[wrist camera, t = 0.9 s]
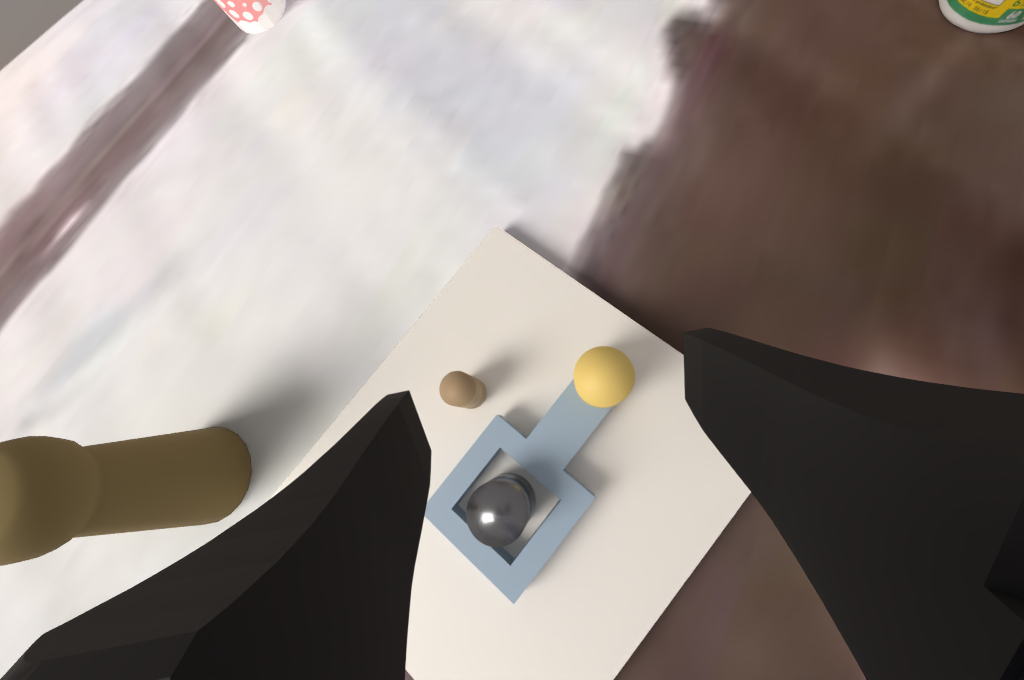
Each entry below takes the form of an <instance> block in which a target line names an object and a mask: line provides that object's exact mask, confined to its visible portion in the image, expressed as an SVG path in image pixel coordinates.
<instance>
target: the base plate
mask: <svg viewBox="0 0 1024 680" xmlns="http://www.w3.org/2000/svg"><path fill="white" fill-rule="evenodd" d="M599 346H608V347H613V348H616V349H618V350H620V351H621V352H623V353H624V354H625V355H626V356H627V357H628V358H629V360H630V361H631V363H632V365H633V367H634V371H635V382H634V386H633V388H632V391H631V392H630V394H629V395H628V396H627V397H626V398H625V399H624V400H622V401H621V402H619V403H618V404H616V405H615V406H613V407H611V409H610V410H609V411H608V413H607V414H606V415H605V417H604V418H603V419H602V420H601V422H600V423H599V424H598V426H597V427H596V428H595V429H594V431H593V432H592V433H591V435H590V436H589V437H588V438H587V440H586V441H585V442H584V444H583V445H582V446H581V448H580V449H579V450H578V451H577V453H576V454H575V455H574V457H573V458H572V459H571V460H570V462H569V463H568V464H567V466H566V467H565V468H564V469H565V470H567V471H568V472H569V473H570V474H571V475H573V476H574V477H575V478H576V479H577V480H578V481H580V482H581V483H582V484H583V485H584V486H586V487H587V488H588V489H589V490H590V491H592V492H593V493H594V494H595V499H594V500H593V501H592V503H591V504H590V505H589V507H588V508H587V509H586V511H585V512H584V513H583V514H582V516H581V517H580V518H579V520H578V521H577V522H576V524H575V525H574V526H573V528H572V529H571V530H570V532H569V533H568V534H567V535H566V537H565V538H564V539H563V541H562V542H561V543H560V545H559V546H558V547H557V549H556V550H555V551H554V552H553V554H552V555H551V556H550V558H549V559H548V560H547V562H546V563H545V564H544V566H543V567H542V568H541V570H540V571H539V572H538V573H537V575H536V576H535V577H534V579H533V580H532V581H531V583H530V584H529V585H528V587H527V588H526V589H525V590H524V592H523V593H522V594H521V596H520V597H519V598H518V600H517V601H516V602H515V604H513V603H512V602H511V601H510V600H509V599H508V598H507V597H506V596H505V595H504V594H503V593H502V592H501V591H500V590H499V589H498V588H497V587H496V586H495V585H494V584H493V583H492V582H491V581H490V580H489V579H488V578H487V577H486V576H485V575H484V574H483V573H482V572H481V571H479V570H478V569H477V568H476V567H475V566H474V565H473V564H472V563H471V562H470V561H469V560H468V559H467V558H466V557H465V556H464V555H463V554H462V553H461V552H460V551H459V550H458V549H457V548H456V547H455V546H454V545H453V544H452V543H451V542H450V541H449V540H448V539H447V538H446V537H445V536H444V535H443V534H442V533H441V532H440V531H439V530H438V529H437V528H436V527H435V526H434V525H433V524H432V523H431V522H430V521H429V520H428V519H427V518H426V517H425V516H424V521H423V527H422V532H421V537H420V542H419V547H418V553H417V558H416V563H415V569H414V575H413V582H412V590H411V601H410V612H409V624H408V636H407V651H406V666H405V669H406V670H407V672H408V673H409V674H410V675H411V676H412V677H413V678H414V680H614V678H615V677H616V675H617V674H618V673H619V671H620V670H621V669H622V667H623V666H624V665H625V663H626V662H627V660H628V659H629V658H630V656H631V655H632V654H633V652H634V651H635V650H636V648H637V647H638V645H639V644H640V643H641V641H642V640H643V639H644V637H645V636H646V635H647V633H648V632H649V630H650V629H651V628H652V626H653V625H654V624H655V622H656V621H657V620H658V618H659V617H660V615H661V614H662V613H663V611H664V610H665V609H666V607H667V606H668V605H669V603H670V602H671V600H672V599H673V598H674V596H675V595H676V594H677V592H678V591H679V590H680V588H681V587H682V585H683V584H684V583H685V581H686V580H687V579H688V577H689V576H690V575H691V573H692V572H693V570H694V569H695V568H696V566H697V565H698V564H699V562H700V561H701V560H702V558H703V557H704V556H705V554H706V553H707V551H708V550H709V549H710V547H711V546H712V545H713V543H714V542H715V541H716V539H717V538H718V536H719V535H720V534H721V532H722V531H723V530H724V528H725V527H726V526H727V524H728V523H729V521H730V520H731V519H732V517H733V516H734V515H735V513H736V512H737V511H738V509H739V508H740V506H741V505H742V504H743V502H744V501H745V500H746V498H747V497H748V496H749V494H750V493H751V491H750V490H749V489H748V488H747V486H746V485H745V484H744V482H743V481H742V480H741V479H740V477H739V476H738V475H737V474H736V472H735V471H734V470H733V469H732V467H731V466H730V465H729V464H728V462H727V461H726V460H725V458H724V457H723V456H722V455H721V453H720V452H719V451H718V450H717V448H716V447H715V446H714V444H713V443H712V442H711V441H710V439H709V438H708V437H707V435H706V434H705V433H704V431H703V430H702V428H701V427H700V425H699V423H698V422H697V420H696V418H695V417H694V415H693V413H692V411H691V409H690V408H689V406H688V404H687V402H686V400H685V388H684V355H683V354H681V353H680V352H678V351H677V350H675V349H674V348H672V347H671V346H670V345H668V344H667V343H665V342H664V341H662V340H661V339H660V338H658V337H657V336H655V335H654V334H652V333H651V332H649V331H648V330H647V329H645V328H644V327H642V326H641V325H639V324H638V323H636V322H635V321H634V320H632V319H631V318H629V317H628V316H626V315H625V314H623V313H622V312H621V311H619V310H618V309H616V308H615V307H613V306H612V305H610V304H609V303H608V302H606V301H605V300H603V299H602V298H600V297H599V296H597V295H596V294H595V293H593V292H592V291H590V290H589V289H587V288H586V287H584V286H583V285H582V284H580V283H579V282H577V281H576V280H574V279H573V278H571V277H570V276H569V275H567V274H566V273H564V272H563V271H561V270H560V269H558V268H557V267H556V266H554V265H553V264H551V263H550V262H548V261H547V260H545V259H544V258H543V257H541V256H540V255H538V254H537V253H535V252H534V251H532V250H531V249H530V248H528V247H527V246H525V245H524V244H522V243H521V242H519V241H518V240H517V239H515V238H514V237H512V236H511V235H509V234H508V233H506V232H505V231H504V230H502V229H501V228H499V227H498V226H496V225H495V227H494V228H493V229H492V230H491V231H490V233H489V234H488V235H487V236H486V238H485V239H484V240H483V241H482V242H481V244H480V245H479V246H478V247H477V248H476V250H475V251H474V252H473V253H472V254H471V256H470V257H469V258H468V259H467V261H466V262H465V263H464V264H463V265H462V267H461V268H460V269H459V270H458V271H457V273H456V274H455V275H454V276H453V277H452V279H451V280H450V281H449V282H448V284H447V285H446V286H445V287H444V288H443V290H442V291H441V292H440V293H439V294H438V296H437V297H436V298H435V299H434V301H433V302H432V303H431V304H430V305H429V307H428V308H427V309H426V310H425V311H424V313H423V314H422V315H421V316H420V317H419V319H418V320H417V321H416V322H415V324H414V325H413V326H412V327H411V328H410V330H409V331H408V332H407V333H406V334H405V336H404V337H403V338H402V339H401V340H400V342H399V343H398V344H397V345H396V347H395V348H394V349H393V350H392V351H391V353H390V354H389V355H388V356H387V357H386V359H385V360H384V361H383V362H382V363H381V365H380V366H379V367H378V368H377V370H376V371H375V372H374V373H373V374H372V376H371V377H370V378H369V379H368V380H367V382H366V383H365V384H364V385H363V387H362V388H361V389H360V390H359V391H358V393H357V394H356V395H355V396H354V397H353V399H352V400H351V401H350V402H349V403H348V405H347V406H346V407H345V408H344V410H343V411H342V412H341V413H340V414H339V416H338V417H337V418H336V419H335V420H334V422H333V423H332V424H331V425H330V426H329V428H328V429H327V430H326V431H325V433H324V434H323V435H322V436H321V437H320V439H319V440H318V441H317V442H316V443H315V445H314V446H313V447H312V448H311V449H310V451H309V452H308V453H307V454H306V456H305V457H304V458H303V459H302V460H301V462H300V463H299V464H298V465H297V466H296V468H295V469H294V470H293V471H292V472H291V474H290V475H289V476H288V477H287V479H286V480H285V481H284V482H283V483H282V485H281V486H280V487H279V488H278V489H277V491H276V492H275V493H274V494H273V496H272V497H274V496H275V495H276V494H277V493H279V492H280V491H281V490H283V489H284V488H285V487H287V486H288V485H289V484H290V483H291V482H293V481H294V480H295V479H296V478H298V477H299V476H300V475H301V474H302V473H303V472H305V471H306V470H307V469H308V468H309V467H310V466H311V465H312V464H313V463H315V462H316V461H317V460H318V459H319V458H320V457H321V456H322V455H323V454H325V453H326V452H327V451H328V450H329V449H330V448H331V447H332V446H333V445H334V444H336V443H337V442H338V441H339V440H340V439H341V438H342V437H343V436H344V435H345V434H346V433H347V432H348V431H349V430H350V429H351V428H352V427H353V426H354V425H355V424H356V423H357V422H358V421H359V420H360V419H361V418H362V417H363V416H364V415H365V414H366V413H367V412H368V411H369V410H370V409H371V408H372V407H373V406H374V405H375V404H377V403H378V402H379V401H380V400H381V399H382V398H383V397H385V396H386V395H388V394H393V393H398V392H403V391H407V390H409V391H410V394H411V396H412V399H413V402H414V404H415V407H416V410H417V412H418V415H419V418H420V421H421V423H422V426H423V429H424V431H425V434H426V437H427V440H428V442H429V445H430V448H431V450H432V454H431V478H430V488H429V494H428V500H427V502H428V501H429V499H430V498H431V497H432V496H433V494H434V493H435V492H436V490H437V489H438V488H439V487H440V485H441V484H442V483H443V482H444V480H445V479H446V478H447V477H448V475H449V474H450V473H451V472H452V470H453V469H454V468H455V467H456V465H457V464H458V463H459V462H460V460H461V459H462V458H463V457H464V455H465V454H466V453H467V451H468V450H469V449H470V448H471V446H472V445H473V444H474V443H475V441H476V440H477V439H478V438H479V436H480V435H481V434H482V433H483V431H484V430H485V429H486V428H487V426H488V425H489V424H490V423H491V421H492V420H493V419H494V418H495V416H496V415H501V416H503V417H504V418H505V419H506V420H507V421H509V422H510V423H511V424H512V425H513V426H515V427H516V428H517V429H518V430H519V431H520V432H522V433H523V434H524V435H525V436H526V437H528V436H529V435H530V433H531V432H532V431H533V430H534V428H535V427H536V426H537V425H538V423H539V422H540V421H541V419H542V418H543V417H544V416H545V414H546V413H547V412H548V411H549V409H550V408H551V407H552V405H553V404H554V403H555V402H556V400H557V399H558V398H559V397H560V395H561V394H562V393H563V391H564V390H565V389H566V388H567V386H568V385H569V384H570V383H571V381H572V380H573V379H574V369H575V365H576V363H577V361H578V359H579V358H580V357H581V356H582V354H584V353H585V352H586V351H588V350H590V349H592V348H594V347H599ZM452 371H462V372H464V373H466V374H469V375H471V376H473V377H475V378H477V379H479V380H480V381H482V382H483V384H484V385H485V387H486V393H487V394H486V398H485V401H484V402H483V404H482V405H480V406H479V407H477V408H475V409H467V408H461V407H456V406H451V405H448V404H447V403H445V402H444V401H443V399H442V398H441V396H440V392H439V387H440V383H441V381H442V379H443V378H444V376H445V375H447V374H448V373H450V372H452ZM504 473H515V474H518V475H521V476H522V477H524V478H525V479H526V480H527V481H528V482H529V483H530V484H531V486H532V488H533V490H534V493H535V498H536V503H535V509H534V512H533V514H532V516H531V518H530V519H529V521H528V523H527V525H526V527H525V528H524V530H523V532H522V534H521V535H520V536H519V538H518V539H517V540H515V541H514V542H513V543H511V544H510V545H507V546H504V547H503V548H504V549H505V550H506V551H507V552H508V553H509V554H510V555H511V556H512V557H513V558H515V557H516V555H517V554H518V553H519V552H520V550H521V549H522V548H523V546H524V545H525V544H526V542H527V541H528V540H529V539H530V537H531V536H532V535H533V533H534V532H535V531H536V530H537V528H538V527H539V526H540V524H541V523H542V522H543V520H544V519H545V518H546V517H547V515H548V514H549V513H550V511H551V510H552V509H553V507H554V506H555V505H556V504H557V502H558V501H559V500H560V499H559V498H557V497H556V496H555V495H554V494H553V493H552V492H551V491H549V490H548V489H547V488H546V487H545V486H544V485H542V484H541V483H540V482H539V481H538V480H537V479H536V478H534V477H533V476H532V475H531V474H530V473H529V472H528V471H526V470H525V469H524V468H523V467H522V466H521V465H520V464H518V463H517V462H516V461H515V460H514V459H513V458H511V457H510V456H509V455H508V454H507V453H506V452H505V451H503V450H501V451H500V452H499V453H498V455H497V456H496V457H495V458H494V460H493V461H492V462H491V463H490V465H489V466H488V467H487V469H486V470H485V471H484V472H483V474H482V475H481V476H480V477H479V479H478V480H477V481H476V482H475V484H474V485H473V486H472V488H471V489H470V490H469V491H468V493H467V494H466V495H465V496H464V498H463V499H462V500H461V502H460V503H459V504H458V506H460V507H461V508H462V509H463V510H464V511H465V512H466V508H467V503H468V501H469V498H470V497H471V495H472V493H473V492H474V491H475V490H476V489H477V488H478V487H480V486H481V485H483V484H485V483H486V482H488V481H490V480H492V479H493V478H495V477H497V476H499V475H501V474H504ZM272 497H271V498H272ZM271 498H270V499H271ZM270 499H269V500H270Z"/></svg>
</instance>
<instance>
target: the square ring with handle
mask: <svg viewBox="0 0 1024 680" xmlns="http://www.w3.org/2000/svg"><path fill="white" fill-rule="evenodd" d="M634 382H635V371H634V367H633V365H632V363H631V361H630V360H629V358H628V357H627V356H626V355H625V354H624V353H623V352H621V351H620V350H618V349H616V348H613V347H608V346H599V347H594V348H592V349H590V350H588V351H586V352H585V353H584V354H582V356H581V357H580V358H579V359H578V361H577V363H576V365H575V369H574V379H573V380H572V381H571V383H570V384H569V385H568V386H567V388H566V389H565V390H564V391H563V393H562V394H561V395H560V397H559V398H558V399H557V400H556V402H555V403H554V404H553V405H552V407H551V408H550V409H549V411H548V412H547V413H546V414H545V416H544V417H543V418H542V419H541V421H540V422H539V423H538V425H537V426H536V427H535V428H534V430H533V431H532V432H531V433H530V435H529V436H528V437H526V436H525V435H524V434H523V433H522V432H520V431H519V430H518V429H517V428H516V427H515V426H513V425H512V424H511V423H510V422H509V421H507V420H506V419H505V418H504V417H503V416H501V415H496V416H495V418H494V419H493V420H492V421H491V423H490V424H489V425H488V426H487V428H486V429H485V430H484V431H483V433H482V434H481V435H480V436H479V438H478V439H477V440H476V441H475V443H474V444H473V445H472V446H471V448H470V449H469V450H468V451H467V453H466V454H465V455H464V457H463V458H462V459H461V460H460V462H459V463H458V464H457V465H456V467H455V468H454V469H453V470H452V472H451V473H450V474H449V475H448V477H447V478H446V479H445V480H444V482H443V483H442V484H441V485H440V487H439V488H438V489H437V490H436V492H435V493H434V494H433V496H432V497H431V498H430V499H429V501H428V502H427V505H426V511H425V517H426V518H427V519H428V520H429V521H430V522H431V523H432V524H433V525H434V526H435V527H436V528H437V529H438V530H439V531H440V532H441V533H442V534H443V535H444V536H445V537H446V538H447V539H448V540H449V541H450V542H451V543H452V544H453V545H454V546H455V547H456V548H457V549H458V550H459V551H460V552H461V553H462V554H463V555H464V556H465V557H466V558H467V559H468V560H469V561H470V562H471V563H472V564H473V565H474V566H475V567H476V568H477V569H478V570H479V571H481V572H482V573H483V574H484V575H485V576H486V577H487V578H488V579H489V580H490V581H491V582H492V583H493V584H494V585H495V586H496V587H497V588H498V589H499V590H500V591H501V592H502V593H503V594H504V595H505V596H506V597H507V598H508V599H509V600H510V601H511V602H512V603H513V604H515V602H516V601H517V600H518V598H519V597H520V596H521V594H522V593H523V592H524V590H525V589H526V588H527V587H528V585H529V584H530V583H531V581H532V580H533V579H534V577H535V576H536V575H537V573H538V572H539V571H540V570H541V568H542V567H543V566H544V564H545V563H546V562H547V560H548V559H549V558H550V556H551V555H552V554H553V552H554V551H555V550H556V549H557V547H558V546H559V545H560V543H561V542H562V541H563V539H564V538H565V537H566V535H567V534H568V533H569V532H570V530H571V529H572V528H573V526H574V525H575V524H576V522H577V521H578V520H579V518H580V517H581V516H582V514H583V513H584V512H585V511H586V509H587V508H588V507H589V505H590V504H591V503H592V501H593V500H594V499H595V494H594V493H593V492H592V491H590V490H589V489H588V488H587V487H586V486H584V485H583V484H582V483H581V482H580V481H578V480H577V479H576V478H575V477H574V476H573V475H571V474H570V473H569V472H568V471H567V470H565V469H564V468H565V467H566V466H567V464H568V463H569V462H570V460H571V459H572V458H573V457H574V455H575V454H576V453H577V451H578V450H579V449H580V448H581V446H582V445H583V444H584V442H585V441H586V440H587V438H588V437H589V436H590V435H591V433H592V432H593V431H594V429H595V428H596V427H597V426H598V424H599V423H600V422H601V420H602V419H603V418H604V417H605V415H606V414H607V413H608V411H609V410H610V409H611V407H613V406H615V405H616V404H618V403H619V402H621V401H622V400H624V399H625V398H626V397H627V396H628V395H629V394H630V392H631V391H632V388H633V386H634ZM501 450H503V451H505V452H506V453H507V454H508V455H509V456H510V457H511V458H513V459H514V460H515V461H516V462H517V463H518V464H520V465H521V466H522V467H523V468H524V469H525V470H526V471H528V472H529V473H530V474H531V475H532V476H533V477H534V478H536V479H537V480H538V481H539V482H540V483H541V484H542V485H544V486H545V487H546V488H547V489H548V490H549V491H551V492H552V493H553V494H554V495H555V496H556V497H557V498H559V499H560V500H559V501H558V502H557V504H556V505H555V506H554V507H553V509H552V510H551V511H550V513H549V514H548V515H547V517H546V518H545V519H544V520H543V522H542V523H541V524H540V526H539V527H538V528H537V530H536V531H535V532H534V533H533V535H532V536H531V537H530V539H529V540H528V541H527V542H526V544H525V545H524V546H523V548H522V549H521V550H520V552H519V553H518V554H517V555H516V557H515V558H513V557H512V556H511V555H510V554H509V553H508V552H507V551H506V550H505V549H504V548H503V547H490V546H487V545H484V544H483V543H481V542H479V541H478V540H477V539H476V538H475V537H474V536H473V534H472V533H471V531H470V529H469V527H468V524H467V520H466V512H465V511H464V510H463V509H462V508H461V507H460V506H458V504H459V503H460V502H461V500H462V499H463V498H464V496H465V495H466V494H467V493H468V491H469V490H470V489H471V488H472V486H473V485H474V484H475V482H476V481H477V480H478V479H479V477H480V476H481V475H482V474H483V472H484V471H485V470H486V469H487V467H488V466H489V465H490V463H491V462H492V461H493V460H494V458H495V457H496V456H497V455H498V453H499V452H500V451H501Z"/></svg>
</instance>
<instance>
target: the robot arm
mask: <svg viewBox="0 0 1024 680" xmlns="http://www.w3.org/2000/svg"><path fill="white" fill-rule="evenodd" d="M683 351H684V388H685V400H686V402H687V404H688V406H689V408H690V409H691V411H692V413H693V415H694V417H695V418H696V420H697V422H698V423H699V425H700V427H701V428H702V430H703V431H704V433H705V434H706V435H707V437H708V438H709V439H710V441H711V442H712V443H713V444H714V446H715V447H716V448H717V450H718V451H719V452H720V453H721V455H722V456H723V457H724V458H725V460H726V461H727V462H728V464H729V465H730V466H731V467H732V469H733V470H734V471H735V472H736V474H737V475H738V476H739V477H740V479H741V480H742V481H743V482H744V484H745V485H746V486H747V488H748V489H749V490H750V491H751V493H752V494H753V495H754V496H755V498H756V499H757V500H758V501H759V503H760V504H761V506H762V507H763V508H764V510H765V511H766V513H767V514H768V515H769V517H770V518H771V520H772V521H773V523H774V524H775V526H776V527H777V529H778V530H779V532H780V534H781V535H782V537H783V538H784V540H785V541H786V543H787V545H788V546H789V548H790V549H791V551H792V552H793V554H794V556H795V557H796V559H797V560H798V562H799V564H800V565H801V567H802V569H803V570H804V572H805V574H806V575H807V577H808V579H809V580H810V582H811V584H812V585H813V587H814V588H815V590H816V592H817V593H818V595H819V597H820V598H821V600H822V602H823V603H824V605H825V607H826V609H827V610H828V612H829V614H830V616H831V617H832V619H833V621H834V623H835V624H836V626H837V628H838V630H839V631H840V633H841V635H842V637H843V638H844V640H845V642H846V644H847V645H848V647H849V649H850V651H851V652H852V654H853V656H854V658H855V659H856V661H857V663H858V665H859V667H860V669H861V670H862V672H863V674H864V676H865V678H866V680H1024V394H1019V393H1010V392H1000V391H991V390H982V389H974V388H966V387H959V386H952V385H944V384H937V383H930V382H923V381H917V380H911V379H905V378H899V377H894V376H889V375H884V374H879V373H874V372H869V371H864V370H859V369H854V368H850V367H846V366H841V365H837V364H833V363H830V362H826V361H822V360H818V359H814V358H810V357H807V356H803V355H799V354H796V353H792V352H789V351H786V350H782V349H779V348H776V347H772V346H769V345H766V344H763V343H759V342H756V341H753V340H750V339H747V338H743V337H740V336H737V335H734V334H730V333H727V332H723V331H719V330H715V329H710V328H704V329H699V330H694V331H690V332H685V333H683ZM431 454H432V450H431V448H430V445H429V442H428V440H427V437H426V434H425V431H424V429H423V426H422V423H421V421H420V418H419V415H418V412H417V410H416V407H415V404H414V402H413V399H412V396H411V394H410V391H409V390H407V391H403V392H398V393H393V394H388V395H386V396H385V397H383V398H382V399H381V400H380V401H379V402H378V403H377V404H375V405H374V406H373V407H372V408H371V409H370V410H369V411H368V412H367V413H366V414H365V415H364V416H363V417H362V418H361V419H360V420H359V421H358V422H357V423H356V424H355V425H354V426H353V427H352V428H351V429H350V430H349V431H348V432H347V433H346V434H345V435H344V436H343V437H342V438H341V439H340V440H339V441H338V442H337V443H336V444H334V445H333V446H332V447H331V448H330V449H329V450H328V451H327V452H326V453H325V454H323V455H322V456H321V457H320V458H319V459H318V460H317V461H316V462H315V463H313V464H312V465H311V466H310V467H309V468H308V469H307V470H306V471H305V472H303V473H302V474H301V475H300V476H299V477H298V478H296V479H295V480H294V481H293V482H291V483H290V484H289V485H288V486H287V487H285V488H284V489H283V490H281V491H280V492H279V493H277V494H276V495H275V496H274V497H272V498H271V499H270V500H268V501H267V502H266V503H264V504H263V505H262V506H260V507H259V508H258V509H256V510H255V511H253V512H252V513H250V514H249V515H248V516H246V517H245V518H243V519H242V520H240V521H239V522H237V523H236V524H234V525H233V526H231V527H230V528H229V529H227V530H226V531H224V532H223V533H221V534H220V535H218V536H217V537H215V538H214V539H212V540H211V541H209V542H208V543H206V544H205V545H203V546H201V547H200V548H198V549H197V550H195V551H193V552H192V553H190V554H188V555H187V556H185V557H184V558H182V559H180V560H179V561H177V562H175V563H174V564H172V565H170V566H169V567H167V568H165V569H163V570H162V571H160V572H158V573H157V574H155V575H153V576H151V577H150V578H148V579H146V580H144V581H143V582H141V583H139V584H137V585H136V586H134V587H132V588H130V589H128V590H127V591H125V592H123V593H121V594H119V595H117V596H115V597H113V598H111V599H109V600H108V601H106V602H104V603H102V604H100V605H98V606H96V607H94V608H92V609H91V610H89V611H87V612H85V613H83V614H81V615H79V616H77V617H75V618H73V619H72V620H70V621H68V622H66V623H64V624H62V625H60V626H58V627H56V628H54V629H52V630H50V631H48V632H46V633H44V634H43V635H42V636H41V637H39V638H38V639H37V640H36V641H35V642H34V643H33V644H32V645H31V646H30V647H29V649H28V650H27V651H26V652H25V653H24V654H23V655H22V656H21V657H20V658H19V659H18V661H17V662H16V663H15V664H14V665H13V666H12V667H11V668H10V669H9V670H8V672H7V673H6V674H5V675H4V676H3V677H2V678H1V679H0V680H405V666H406V651H407V636H408V624H409V612H410V601H411V590H412V582H413V575H414V569H415V563H416V558H417V553H418V547H419V542H420V537H421V532H422V527H423V521H424V516H425V511H426V505H427V500H428V494H429V488H430V478H431Z"/></svg>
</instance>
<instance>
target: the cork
mask: <svg viewBox="0 0 1024 680" xmlns="http://www.w3.org/2000/svg"><path fill="white" fill-rule="evenodd" d="M250 476H251V458H250V455H249V452H248V450H247V447H246V444H245V443H244V442H243V441H242V440H241V438H240V437H239V436H238V435H237V434H235V433H234V432H232V431H230V430H228V429H225V428H217V427H212V428H206V429H199V430H192V431H185V432H179V433H172V434H165V435H158V436H152V437H145V438H138V439H131V440H125V441H118V442H111V443H104V444H97V445H91V446H84V447H82V446H81V445H79V444H78V443H76V442H74V441H71V440H66V439H61V438H54V437H47V436H28V437H22V438H17V439H12V440H8V441H4V442H0V566H1V565H7V564H12V563H17V562H21V561H25V560H29V559H33V558H37V557H40V556H42V555H44V554H46V553H49V552H51V551H53V550H55V549H57V548H59V547H60V546H62V545H63V544H65V543H67V542H68V541H70V540H71V539H72V538H75V537H85V536H95V535H105V534H115V533H125V532H135V531H145V530H155V529H165V528H175V527H185V526H195V525H205V524H209V523H214V522H218V521H220V520H221V519H223V518H225V517H226V516H228V515H230V514H231V513H232V512H233V511H234V509H235V508H236V507H237V506H238V505H239V504H240V503H241V501H242V499H243V497H244V495H245V493H246V491H247V489H248V486H249V481H250Z"/></svg>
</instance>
